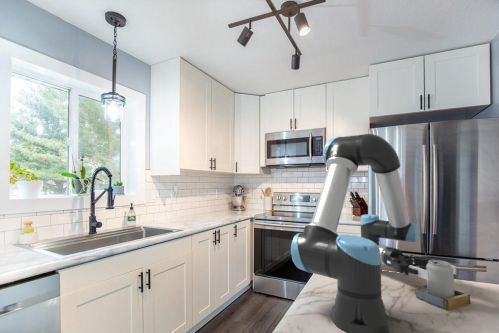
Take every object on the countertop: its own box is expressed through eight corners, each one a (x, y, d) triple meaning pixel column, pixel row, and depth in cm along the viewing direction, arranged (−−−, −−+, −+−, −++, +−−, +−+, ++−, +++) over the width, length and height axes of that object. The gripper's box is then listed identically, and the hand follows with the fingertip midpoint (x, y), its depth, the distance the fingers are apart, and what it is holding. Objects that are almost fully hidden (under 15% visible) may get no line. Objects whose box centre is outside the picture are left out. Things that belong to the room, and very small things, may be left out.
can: (439, 292, 95) (437, 257, 96) (460, 301, 88) (458, 264, 89) (421, 294, 93) (420, 259, 94) (442, 304, 86) (440, 266, 87)
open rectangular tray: (446, 310, 83) (446, 300, 83) (415, 297, 92) (415, 288, 93) (470, 303, 88) (470, 294, 88) (438, 292, 97) (438, 283, 97)
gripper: (410, 262, 115) (466, 279, 95) (365, 269, 105) (416, 289, 86) (410, 244, 115) (465, 257, 95) (365, 249, 106) (415, 265, 86)
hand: (442, 272), depth 90 cm, fingers open, 13 cm apart
